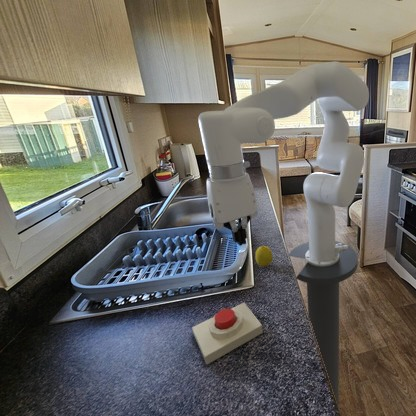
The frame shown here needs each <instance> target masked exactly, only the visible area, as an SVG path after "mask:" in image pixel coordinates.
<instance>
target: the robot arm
mask: <svg viewBox="0 0 416 416" xmlns="http://www.w3.org/2000/svg"><path fill="white" fill-rule="evenodd" d="M369 100H370V91H369V87H368V85H367V83H366V82H365V81H364V79H362V77H360V76H359V75H358V74H357V73H356V72H355V71H353V70H352V69H351V68H350V67H349V66H347V65H346V64H344V63H342V62H341V61H337V60H336V61H334V60H333V61H327V62H326V61H325V62H319V63H313V64H309V65H307V66H305V67H303V68H301V69H299V70H298V71H296V72H295V73H293V74H292V75H291V76H289V77H287V78H285V79H283V80H282V81H279V82H278V83H276V84H273V85H271V86H268V87H266V88H264V89H262V90H260V91H257V92H254V93H252V94H249V95H247V96H245V97H243V98H241V99H239V100H238V101H236V102H234V103H232V104H231V105H229V106H228V107H226V108H225V109H224V110H210V111H203V112H201V113H200V114H199V115H198V118H197V120H198V121H197V122H198V127H199V130H200V136H201V141H202V146H203V150H204V154H205V159H206V164H207V168H208V174H209V177H207V179H206V197H207V204H208V210H209V214H210V217H211V219H212V226H213V227H214V228H215V229H224V228H226V229H228V230H230V232H231V237H232V241H233V242H234V243H236V244H237V245H238V246H239V247H240V246H241V247H242V246H243V245H246V244H247V238H248V235H247V228H248V224H249V222H250V221H251V219H253V218H255V217H257V216H258V215H259V212H258V203H257V198H256V193H255V189H254V186H253V183H252V180H251V177H250V175H249V173H248V172H247V169H248V168H250V167H251V163H250V161H246V160H244V155H243V148H242V145H243V144H260V143H261V144H262V143H265V142H267V141H268V140H270V139H271V138H272V136H273V135H274V133H275V130H276V123H275V120H280V119H285V118H290V117H293V116H296V115H298V114H300V113H301V112H302V111H304V110H305V109H306V108H307V107H309V106H310V105H311V104H312V103H315V101H317V103H318V106H319V109H320V111H321V114H322V116H323V122H324V123H323V124H324V125H323V132H322V135H321V138H320V143H319V146H318V149H317V153H316V157H315V161H316V162H315V163H316V165H317V167H319V168H320V169H322V170H325V171H329V172H330V171H331V172H337V173H340V174H339V175H335V174H332V173H325V172H313V173H310V174H308V175H307V176H306V178H305V179H304V181H303V187H302V188H303V196H304V198H305V202H306V208H307V209H306V210H307V229H308V231H307V232H308V242H309V250H308V251H307V252H306V254H305V259H304V260H307V262H308V263H309V264H311V265H314V266H319V267H325V266H330V265H333V264H335V263H336V262H337V261H338V260H339V258H340V254H339V253H340V251H346V250H348V246H349V245H348V246H347V244H346V245H344V246H342V244H341V243H342V242H340V244H335V241H336V210H335V207H339V208H346V207H349V206H350V205H351V204H352V203H353V201H354V199H355V197H356V192H357V189H358V187H359V182H360V178H361V176H362V171H363V167H364V163H365V153H364V150H363V147H362V146H361V145H359V144H358V143H355V142H348V140H349V135H350V124H349V121H348V119H347V118H346V116H345V114H344V112H359V111H362V110H363V109H365V108H366V107H367V105H368V103H369ZM236 221H237V223H236Z"/></svg>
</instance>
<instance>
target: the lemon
mask: <svg viewBox="0 0 416 416" xmlns="http://www.w3.org/2000/svg"><path fill="white" fill-rule="evenodd" d="M254 255H255V256H254V257H255V261H256V264H257V265H258V266H259V267H262V268H263V267H264V268H266V267H268V266H269V265H271V263H272V262H273V259H274V258H273V256H274V255H273V252H272V250H271V248H270V247H269V246H266V245H261V246H259V247H258V248H257V249H256V250H255V254H254Z"/></svg>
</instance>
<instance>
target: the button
mask: <svg viewBox="0 0 416 416" xmlns="http://www.w3.org/2000/svg"><path fill="white" fill-rule="evenodd" d="M214 316H215V323H216V327H217V328H218V329H220V330H223V329H228V328H230V327H232V326H233V325H234V324H235V322H236V317H235V312H234V311H233V310H232V308H223V309H221V310H219V311H218V312H217V313H215V314H214Z"/></svg>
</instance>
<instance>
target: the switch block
mask: <svg viewBox="0 0 416 416" xmlns="http://www.w3.org/2000/svg"><path fill="white" fill-rule="evenodd" d="M231 309H232V310H233V311H234V312H235V317H236V322H235V324H234V325H233V326H232V327H230V328H228V329H223V330H220V329H218V328H217V327H216V323H215V315H214V316H213V317H211V318H209V319H207V320H204V321H202V322H200V323H198V324H196V325H194V326H192V327H191V330H192V334H193V337H194V338H195V339H194V340H195V342H196V344H197V346H198V348H199V351H200V352H201V355H202V357H203V360H204V362H205V365H210V364H211V363H213V362H215V361H216V360H218V359H220V358H221V357H223V356H225V355H226V354H229V353H230V352H232V351H233V350H235V349H237V348H239V347H240V346H243V345H244V344H246V343H248V342H249V341H251V340H253V339H254V338H256V337H258V336H260V335H262V334H263V331H264V330H263V324H261V322H260V320H258V318H257V317H256V315H255V314H254V313H253V312H252V310H251V309H250V308H249V306H248V305H247V304H246V302H242V303H240V304H238V305H236V306H234V307H231Z"/></svg>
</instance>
